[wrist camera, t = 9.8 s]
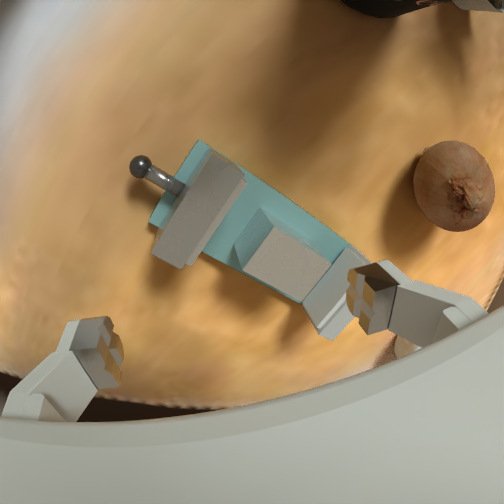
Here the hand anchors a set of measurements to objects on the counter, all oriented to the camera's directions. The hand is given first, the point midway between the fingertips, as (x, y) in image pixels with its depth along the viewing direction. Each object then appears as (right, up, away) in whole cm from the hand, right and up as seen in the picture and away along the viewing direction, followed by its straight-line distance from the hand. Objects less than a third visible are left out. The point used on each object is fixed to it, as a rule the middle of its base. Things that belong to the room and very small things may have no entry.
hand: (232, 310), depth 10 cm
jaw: (-6, +7, +14) cm, 17 cm away
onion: (+21, +11, +20) cm, 30 cm away
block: (+2, +3, +18) cm, 18 cm away
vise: (+2, +3, +19) cm, 19 cm away
